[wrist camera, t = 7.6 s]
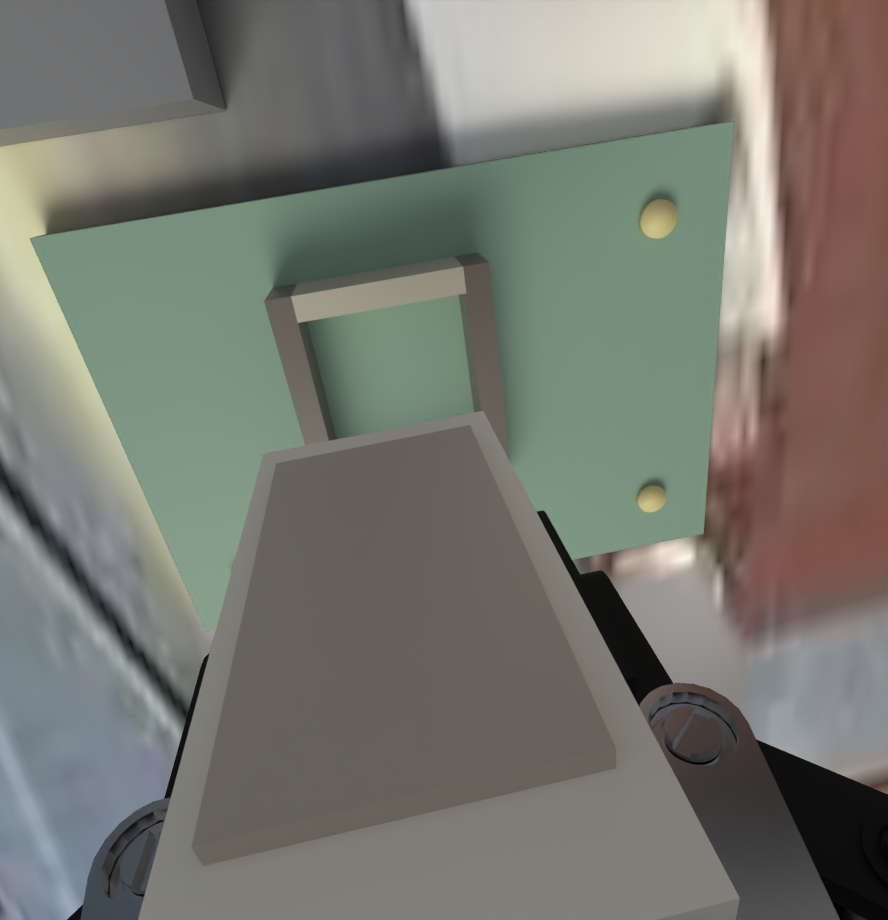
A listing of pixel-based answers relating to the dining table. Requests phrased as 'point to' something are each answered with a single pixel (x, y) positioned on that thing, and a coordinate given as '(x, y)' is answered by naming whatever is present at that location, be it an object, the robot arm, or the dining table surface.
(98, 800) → the dining table surface
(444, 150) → the dining table surface
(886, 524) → the dining table surface
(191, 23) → the grey push button box
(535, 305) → the board
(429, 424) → the plug
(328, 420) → the socket
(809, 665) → the dining table surface
